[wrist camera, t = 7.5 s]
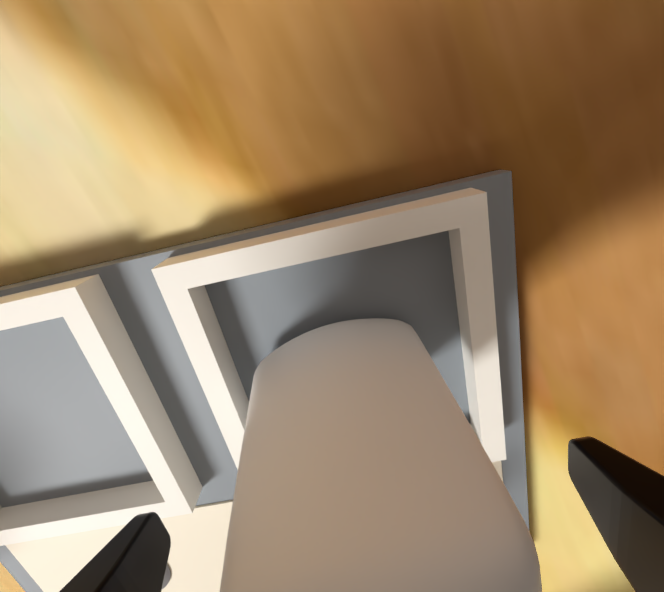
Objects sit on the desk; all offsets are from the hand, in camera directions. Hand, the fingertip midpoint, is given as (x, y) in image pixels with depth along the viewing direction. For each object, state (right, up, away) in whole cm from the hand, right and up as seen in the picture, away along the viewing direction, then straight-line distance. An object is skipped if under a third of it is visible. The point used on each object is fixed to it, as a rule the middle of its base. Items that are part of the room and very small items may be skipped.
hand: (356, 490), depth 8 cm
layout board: (-5, -3, +8) cm, 10 cm away
